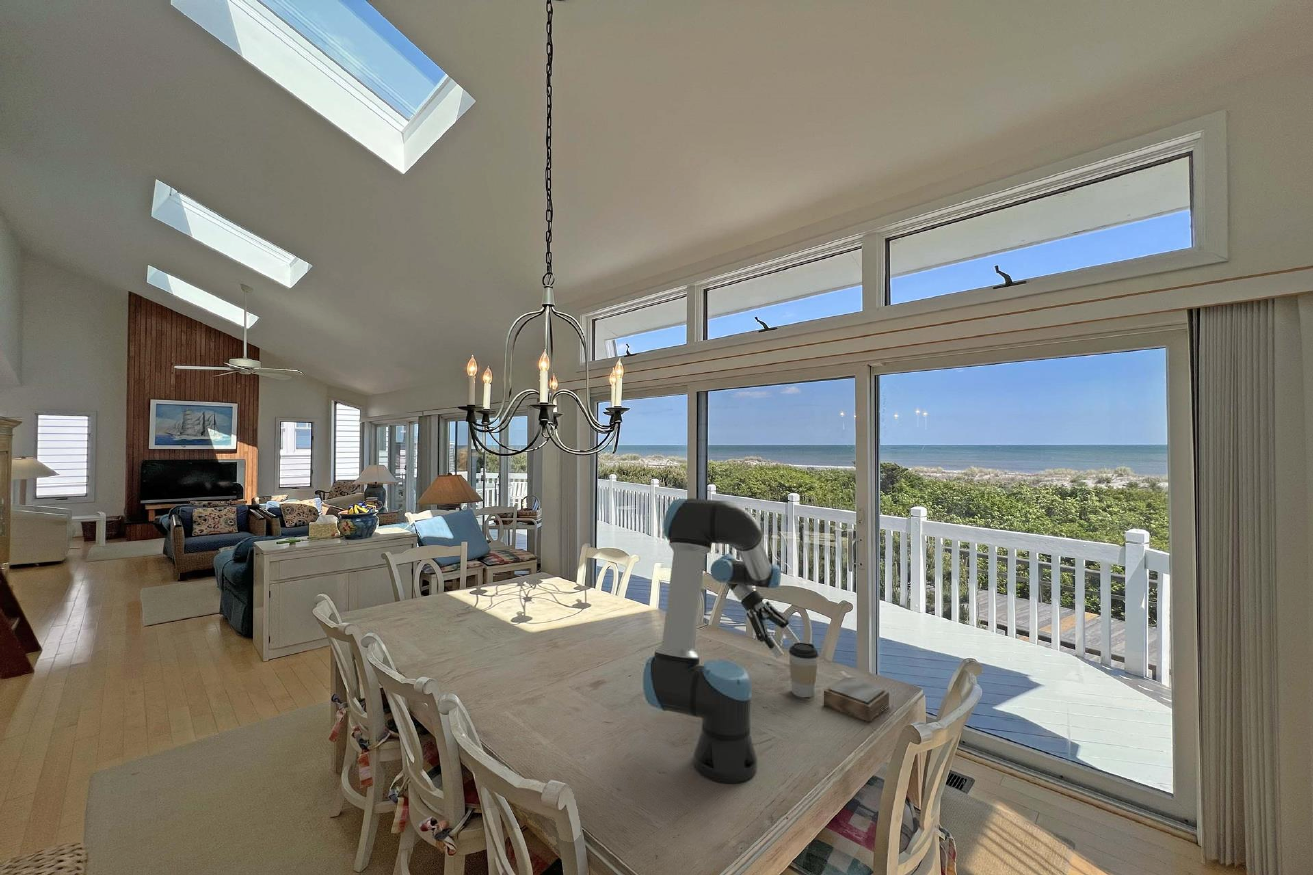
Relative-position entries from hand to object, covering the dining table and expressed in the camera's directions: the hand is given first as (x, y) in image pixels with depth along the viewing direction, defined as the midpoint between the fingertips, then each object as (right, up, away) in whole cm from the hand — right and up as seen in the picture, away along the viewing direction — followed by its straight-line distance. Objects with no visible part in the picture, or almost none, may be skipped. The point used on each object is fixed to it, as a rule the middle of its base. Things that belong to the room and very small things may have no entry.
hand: (789, 650), depth 174 cm
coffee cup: (+3, -12, -4) cm, 13 cm away
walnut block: (+17, -12, -12) cm, 24 cm away
